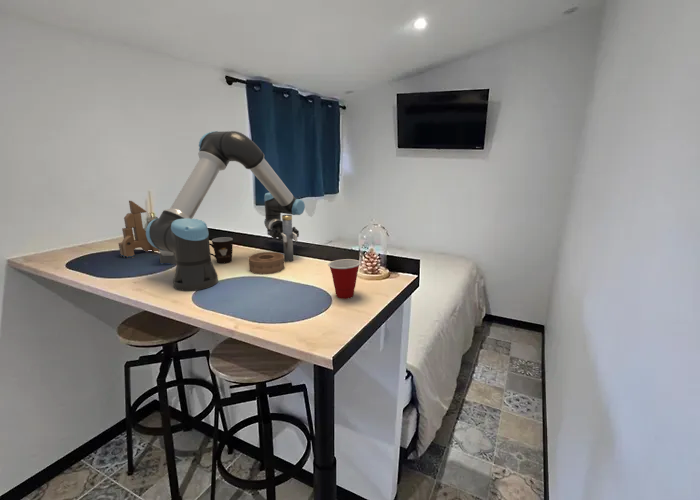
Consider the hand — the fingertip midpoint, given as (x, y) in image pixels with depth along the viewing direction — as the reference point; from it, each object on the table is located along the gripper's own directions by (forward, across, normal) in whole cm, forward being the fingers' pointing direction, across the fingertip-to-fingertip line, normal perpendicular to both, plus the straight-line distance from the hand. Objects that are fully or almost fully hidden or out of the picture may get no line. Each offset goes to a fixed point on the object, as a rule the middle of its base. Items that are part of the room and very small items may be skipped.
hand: (291, 238), depth 155 cm
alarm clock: (-27, +46, -12) cm, 55 cm away
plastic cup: (+41, -7, -11) cm, 43 cm away
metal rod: (-5, 0, -11) cm, 12 cm away
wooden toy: (-43, +61, -12) cm, 76 cm away
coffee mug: (-16, +28, -11) cm, 34 cm away
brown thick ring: (+2, +11, -11) cm, 16 cm away
